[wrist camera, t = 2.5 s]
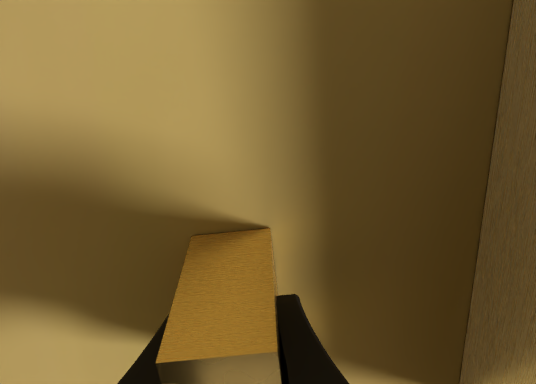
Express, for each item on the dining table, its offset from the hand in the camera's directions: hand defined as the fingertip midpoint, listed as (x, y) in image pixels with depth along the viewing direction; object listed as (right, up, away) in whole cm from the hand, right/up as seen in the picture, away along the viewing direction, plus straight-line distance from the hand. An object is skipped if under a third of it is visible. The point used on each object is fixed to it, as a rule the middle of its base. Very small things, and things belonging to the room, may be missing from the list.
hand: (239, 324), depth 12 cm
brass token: (0, +1, +1) cm, 1 cm away
